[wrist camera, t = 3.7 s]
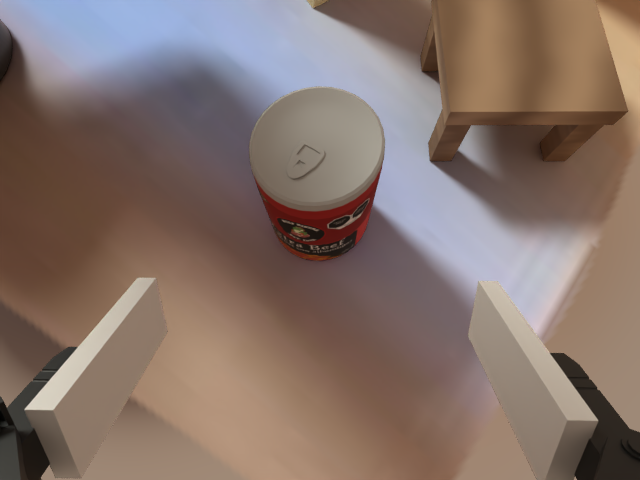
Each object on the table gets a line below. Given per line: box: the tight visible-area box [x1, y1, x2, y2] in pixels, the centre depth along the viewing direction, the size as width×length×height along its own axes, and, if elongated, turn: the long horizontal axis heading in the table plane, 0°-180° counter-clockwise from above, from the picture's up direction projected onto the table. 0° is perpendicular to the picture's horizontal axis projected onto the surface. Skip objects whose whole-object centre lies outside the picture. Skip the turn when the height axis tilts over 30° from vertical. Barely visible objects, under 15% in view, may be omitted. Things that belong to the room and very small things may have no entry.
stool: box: [421, 0, 628, 161], centre depth 32 cm, size 12×12×7 cm
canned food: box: [249, 86, 385, 261], centre depth 27 cm, size 8×8×11 cm
